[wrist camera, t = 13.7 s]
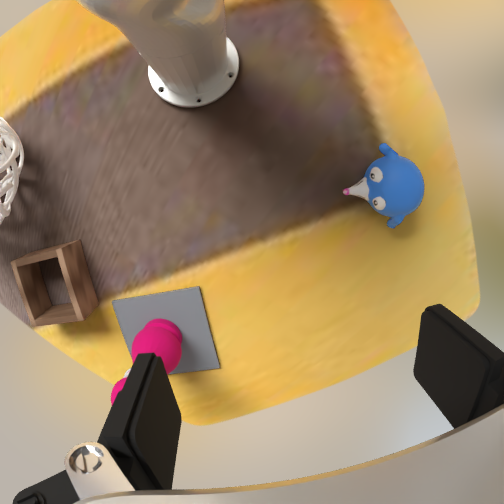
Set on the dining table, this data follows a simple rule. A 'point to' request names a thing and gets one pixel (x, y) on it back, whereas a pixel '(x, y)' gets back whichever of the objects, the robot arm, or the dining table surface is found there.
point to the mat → (178, 312)
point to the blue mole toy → (391, 186)
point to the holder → (74, 278)
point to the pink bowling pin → (155, 347)
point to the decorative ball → (12, 178)
